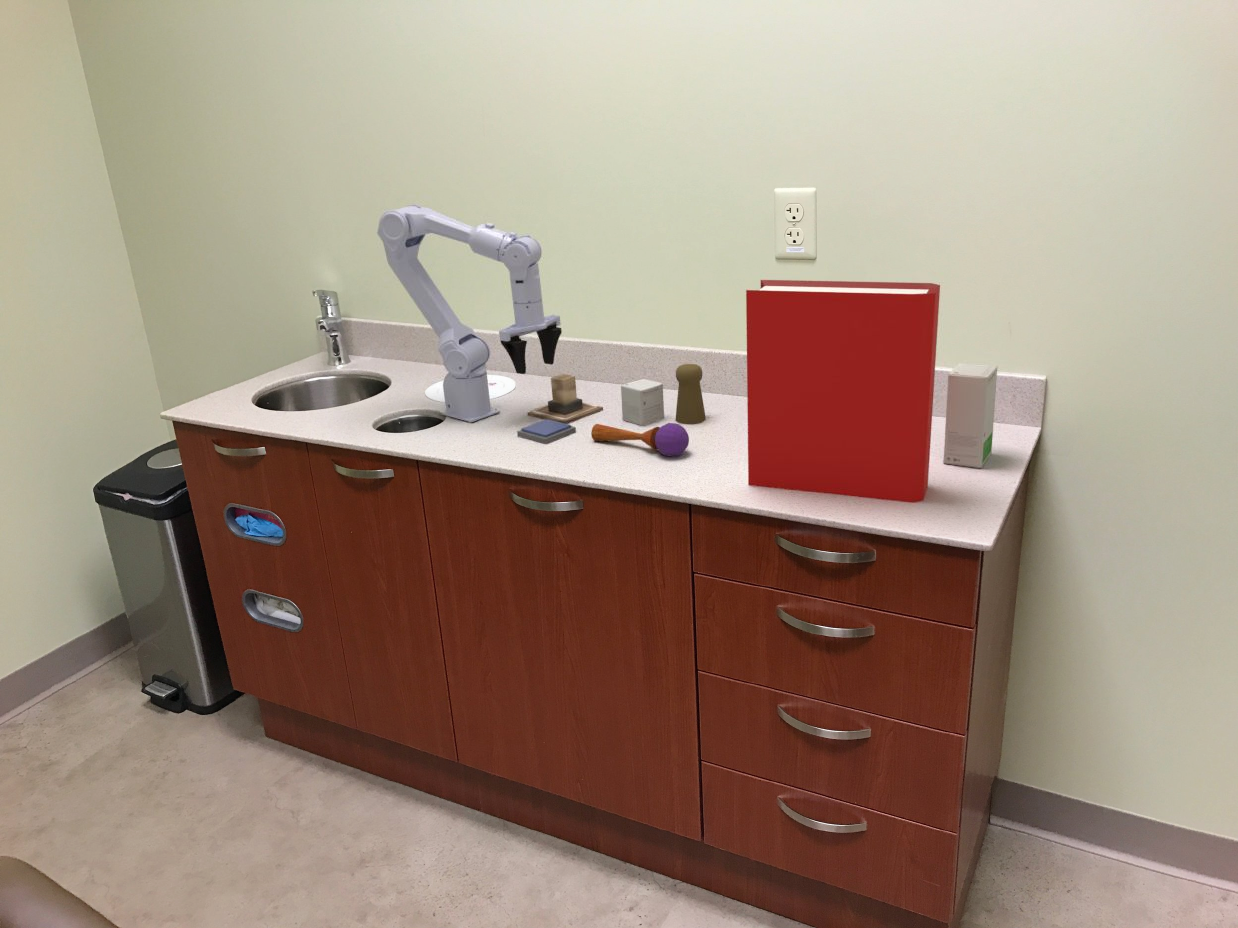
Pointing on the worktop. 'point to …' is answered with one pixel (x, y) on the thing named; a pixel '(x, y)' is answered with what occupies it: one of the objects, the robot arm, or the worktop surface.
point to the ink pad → (546, 431)
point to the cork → (689, 395)
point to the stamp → (564, 395)
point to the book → (841, 386)
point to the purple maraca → (648, 437)
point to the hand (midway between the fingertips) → (535, 368)
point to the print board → (566, 419)
